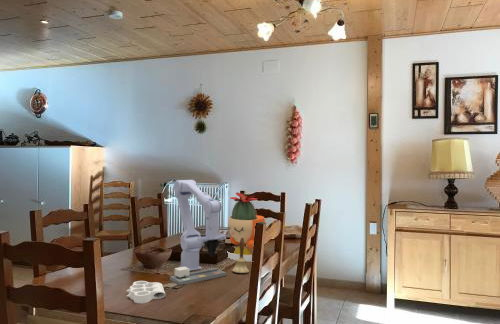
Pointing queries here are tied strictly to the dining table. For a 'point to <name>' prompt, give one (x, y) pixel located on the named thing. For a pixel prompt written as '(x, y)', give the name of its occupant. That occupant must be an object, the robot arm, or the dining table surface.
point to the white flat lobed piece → (145, 291)
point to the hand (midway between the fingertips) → (211, 256)
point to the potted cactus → (243, 226)
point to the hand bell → (241, 260)
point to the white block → (182, 272)
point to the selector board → (198, 276)
